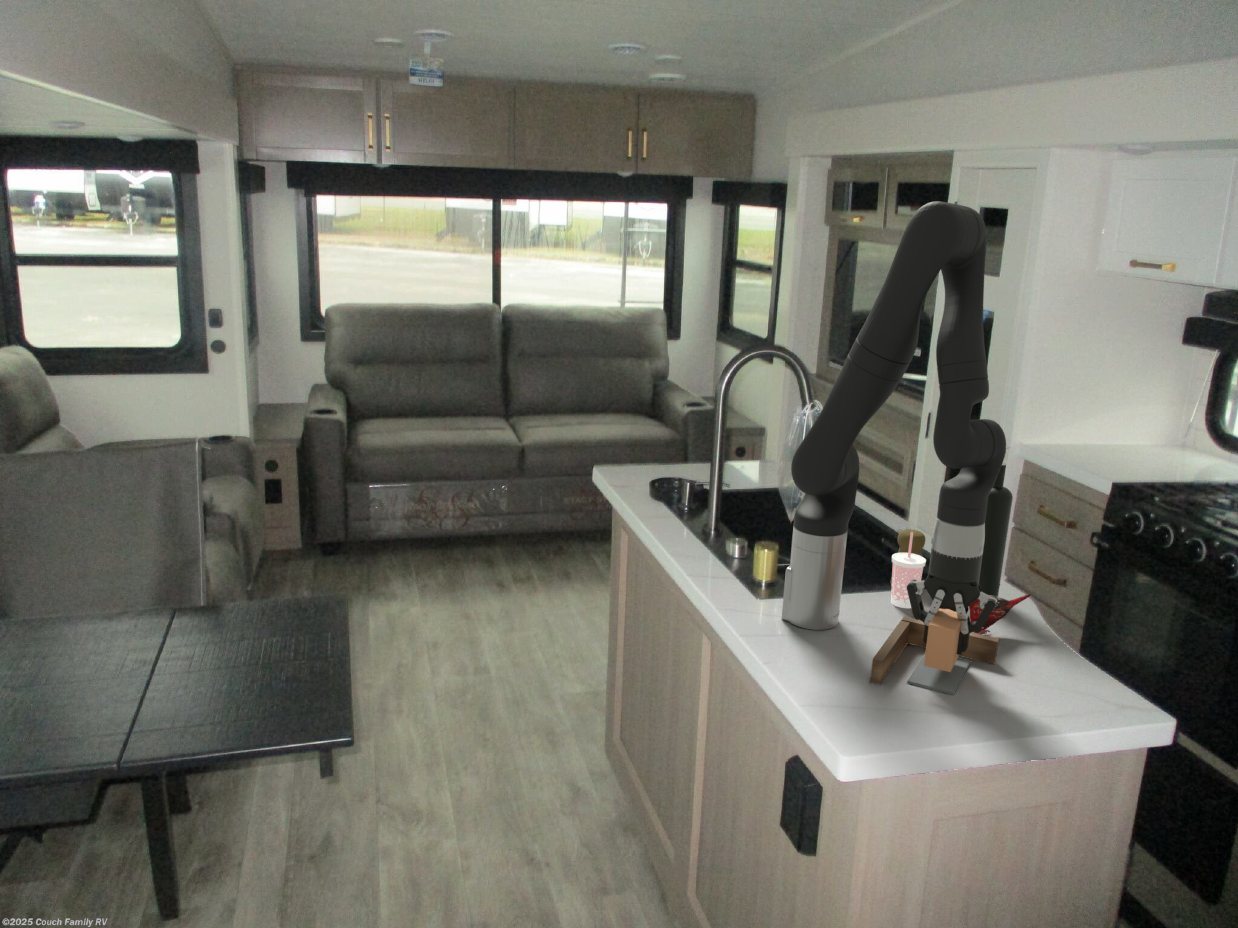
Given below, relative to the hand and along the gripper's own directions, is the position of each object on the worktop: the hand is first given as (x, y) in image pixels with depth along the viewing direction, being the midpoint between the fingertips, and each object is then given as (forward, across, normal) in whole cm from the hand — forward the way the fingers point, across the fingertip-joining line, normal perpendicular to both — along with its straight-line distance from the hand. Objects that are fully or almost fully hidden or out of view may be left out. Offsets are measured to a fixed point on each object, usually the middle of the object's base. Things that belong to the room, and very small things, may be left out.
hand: (944, 648), depth 156 cm
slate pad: (+4, 0, 0) cm, 4 cm away
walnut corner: (+4, 0, 0) cm, 4 cm away
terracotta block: (+1, 0, 0) cm, 1 cm away
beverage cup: (+4, +12, -25) cm, 28 cm away
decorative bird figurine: (+4, -4, -20) cm, 21 cm away
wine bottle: (+4, 0, -36) cm, 36 cm away
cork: (+4, +14, -35) cm, 38 cm away
